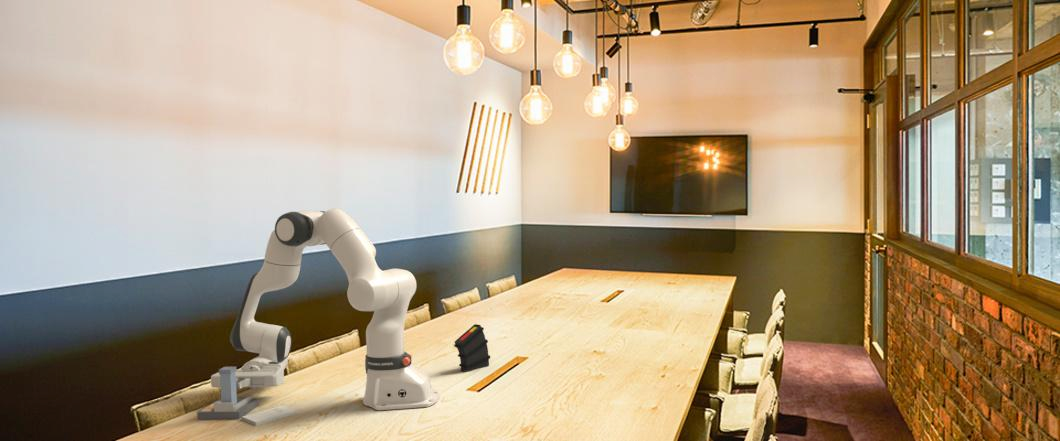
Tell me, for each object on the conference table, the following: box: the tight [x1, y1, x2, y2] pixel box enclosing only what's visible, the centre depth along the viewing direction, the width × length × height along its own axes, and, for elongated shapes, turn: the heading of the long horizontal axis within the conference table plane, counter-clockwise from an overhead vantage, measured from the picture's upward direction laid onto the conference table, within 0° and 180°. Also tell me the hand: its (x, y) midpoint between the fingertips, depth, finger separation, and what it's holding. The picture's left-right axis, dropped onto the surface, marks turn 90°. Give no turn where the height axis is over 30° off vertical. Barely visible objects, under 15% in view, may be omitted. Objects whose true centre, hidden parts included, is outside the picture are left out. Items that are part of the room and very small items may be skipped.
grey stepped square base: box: [196, 395, 260, 420], centre depth 193 cm, size 12×12×4 cm
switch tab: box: [218, 366, 238, 405], centre depth 190 cm, size 3×3×11 cm
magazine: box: [453, 323, 491, 373], centre depth 234 cm, size 4×13×15 cm, turn 136°
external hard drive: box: [240, 404, 298, 427], centre depth 189 cm, size 2×8×12 cm
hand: (234, 386), depth 194 cm, fingers closed
